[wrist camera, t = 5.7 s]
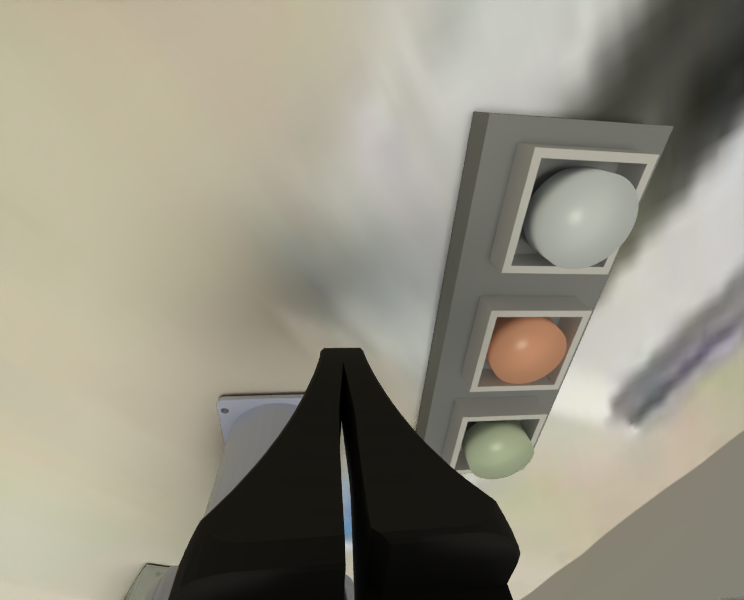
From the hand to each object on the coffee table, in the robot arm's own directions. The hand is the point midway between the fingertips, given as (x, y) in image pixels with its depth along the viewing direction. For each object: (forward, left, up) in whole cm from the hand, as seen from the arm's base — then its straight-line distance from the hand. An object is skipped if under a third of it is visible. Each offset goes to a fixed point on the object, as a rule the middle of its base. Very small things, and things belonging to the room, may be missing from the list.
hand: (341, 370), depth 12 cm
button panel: (-4, -11, -9) cm, 15 cm away
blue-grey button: (+4, -11, -6) cm, 13 cm away
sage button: (-12, -11, -6) cm, 17 cm away
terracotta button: (-4, -11, -7) cm, 14 cm away
